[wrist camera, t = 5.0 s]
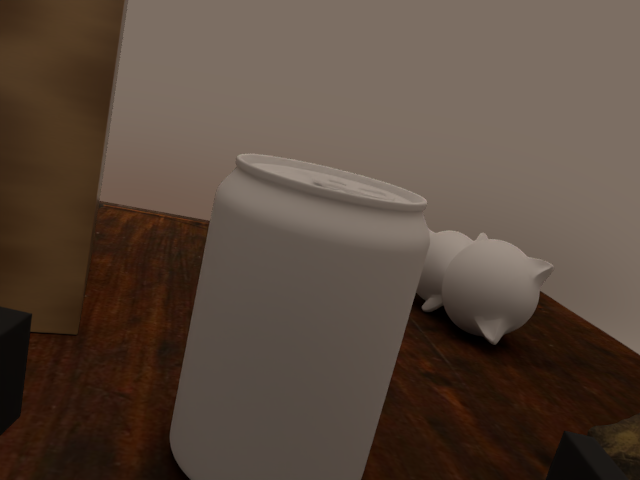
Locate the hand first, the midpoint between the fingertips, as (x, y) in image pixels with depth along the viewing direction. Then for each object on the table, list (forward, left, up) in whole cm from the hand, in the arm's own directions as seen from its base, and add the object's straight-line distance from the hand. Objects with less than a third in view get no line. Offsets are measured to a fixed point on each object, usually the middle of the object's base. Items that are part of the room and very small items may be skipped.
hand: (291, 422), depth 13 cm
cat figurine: (+25, +25, -7) cm, 36 cm away
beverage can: (+3, +8, -7) cm, 11 cm away
